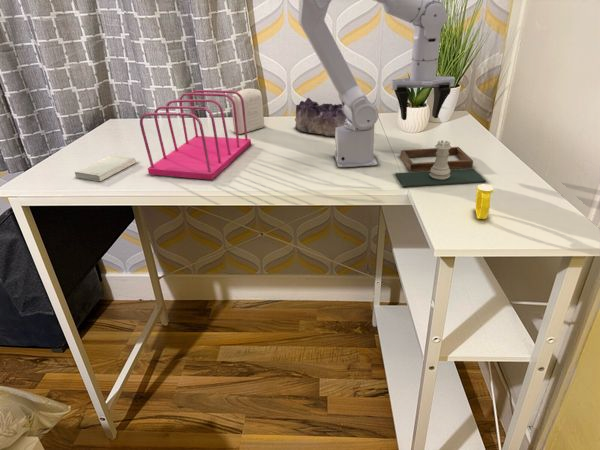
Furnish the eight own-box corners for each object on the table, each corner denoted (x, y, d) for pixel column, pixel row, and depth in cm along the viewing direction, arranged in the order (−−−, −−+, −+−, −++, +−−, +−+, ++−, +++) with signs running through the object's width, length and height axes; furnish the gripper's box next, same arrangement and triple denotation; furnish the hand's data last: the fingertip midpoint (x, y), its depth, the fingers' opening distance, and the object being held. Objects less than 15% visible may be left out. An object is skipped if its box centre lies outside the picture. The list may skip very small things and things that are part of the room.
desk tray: (410, 171, 100) (410, 164, 99) (400, 156, 109) (400, 150, 108) (472, 167, 101) (473, 160, 100) (457, 153, 109) (458, 146, 108)
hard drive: (99, 175, 103) (134, 157, 113) (74, 171, 106) (111, 154, 116) (100, 182, 104) (136, 163, 114) (76, 178, 107) (112, 159, 117)
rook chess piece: (450, 181, 94) (455, 146, 90) (429, 180, 95) (433, 145, 91) (449, 173, 98) (453, 139, 94) (428, 172, 98) (432, 138, 94)
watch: (470, 207, 84) (475, 179, 81) (485, 208, 83) (491, 180, 80) (474, 223, 79) (479, 193, 76) (490, 224, 78) (496, 194, 75)
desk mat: (403, 187, 93) (403, 185, 93) (395, 174, 99) (395, 173, 99) (485, 182, 93) (485, 180, 93) (472, 169, 100) (473, 168, 99)
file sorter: (148, 175, 106) (133, 112, 98) (196, 141, 127) (187, 87, 119) (212, 180, 101) (201, 114, 93) (251, 144, 122) (245, 88, 114)
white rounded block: (258, 124, 139) (254, 85, 132) (266, 127, 136) (263, 87, 130) (232, 132, 132) (227, 91, 126) (240, 135, 130) (235, 93, 124)
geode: (285, 134, 128) (284, 100, 125) (302, 128, 138) (302, 96, 134) (350, 139, 120) (350, 101, 116) (363, 132, 129) (364, 97, 126)
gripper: (397, 63, 95) (393, 124, 101) (462, 60, 95) (454, 120, 102) (390, 58, 101) (386, 116, 107) (451, 55, 101) (444, 112, 108)
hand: (419, 117), depth 105 cm, fingers open, 7 cm apart
